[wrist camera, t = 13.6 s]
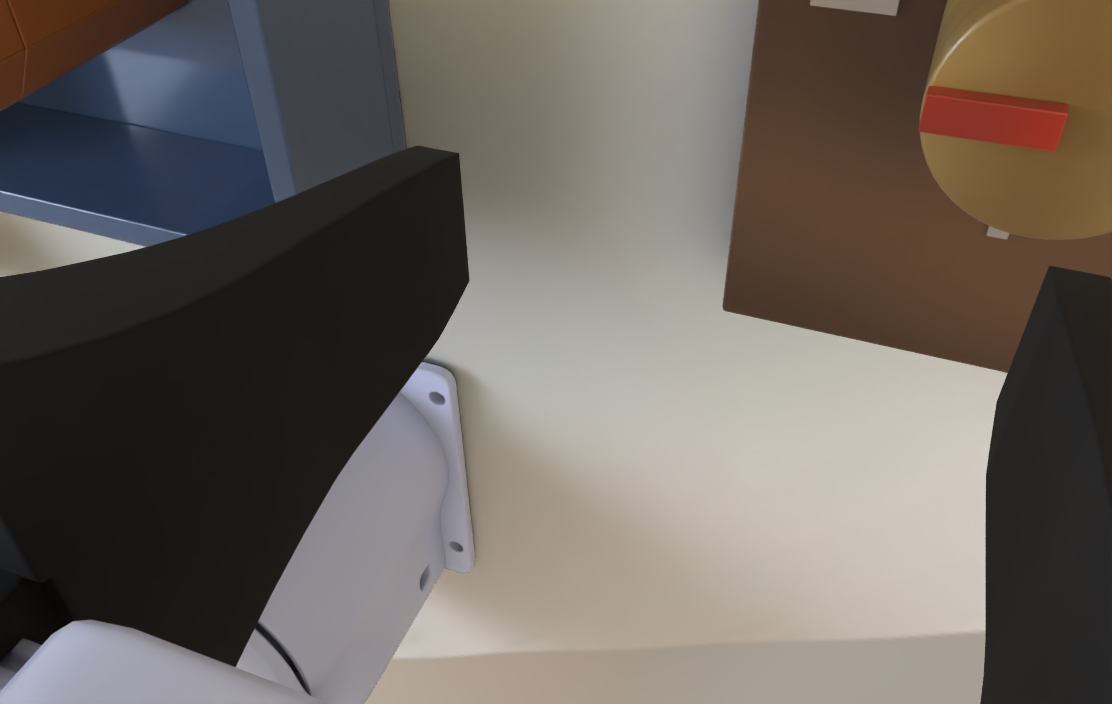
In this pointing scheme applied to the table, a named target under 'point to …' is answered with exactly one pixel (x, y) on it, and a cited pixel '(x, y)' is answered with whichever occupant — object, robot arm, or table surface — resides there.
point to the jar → (64, 37)
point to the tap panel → (870, 195)
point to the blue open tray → (205, 118)
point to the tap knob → (1023, 115)
